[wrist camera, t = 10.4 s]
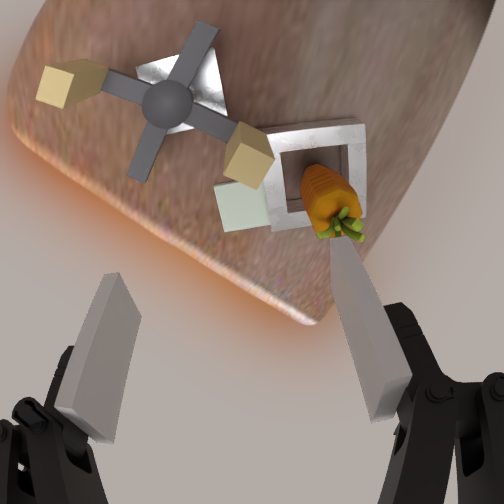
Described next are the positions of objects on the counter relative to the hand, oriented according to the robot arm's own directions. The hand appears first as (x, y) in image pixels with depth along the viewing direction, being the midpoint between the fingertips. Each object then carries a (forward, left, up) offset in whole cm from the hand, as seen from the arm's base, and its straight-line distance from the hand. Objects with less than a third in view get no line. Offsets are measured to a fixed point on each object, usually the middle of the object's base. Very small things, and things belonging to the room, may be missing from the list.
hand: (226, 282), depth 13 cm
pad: (0, +8, -23) cm, 25 cm away
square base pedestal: (+4, -6, -23) cm, 24 cm away
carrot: (-8, +5, -24) cm, 25 cm away
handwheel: (+4, -6, -16) cm, 18 cm away
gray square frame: (-8, +5, -23) cm, 25 cm away
